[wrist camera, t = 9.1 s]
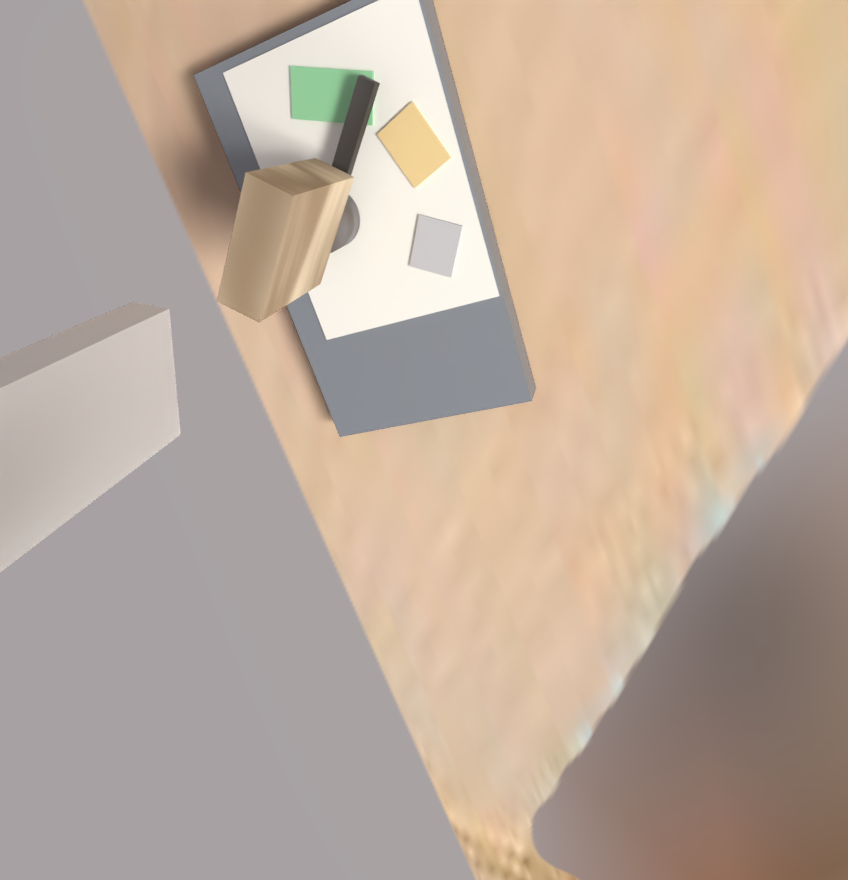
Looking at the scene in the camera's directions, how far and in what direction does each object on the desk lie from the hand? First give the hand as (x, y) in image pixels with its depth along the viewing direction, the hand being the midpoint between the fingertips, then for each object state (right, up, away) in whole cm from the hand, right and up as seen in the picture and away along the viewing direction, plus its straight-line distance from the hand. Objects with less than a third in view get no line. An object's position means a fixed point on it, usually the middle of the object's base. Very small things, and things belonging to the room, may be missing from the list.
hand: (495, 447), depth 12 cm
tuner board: (-4, +12, +26) cm, 29 cm away
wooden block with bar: (-6, +14, +23) cm, 27 cm away
